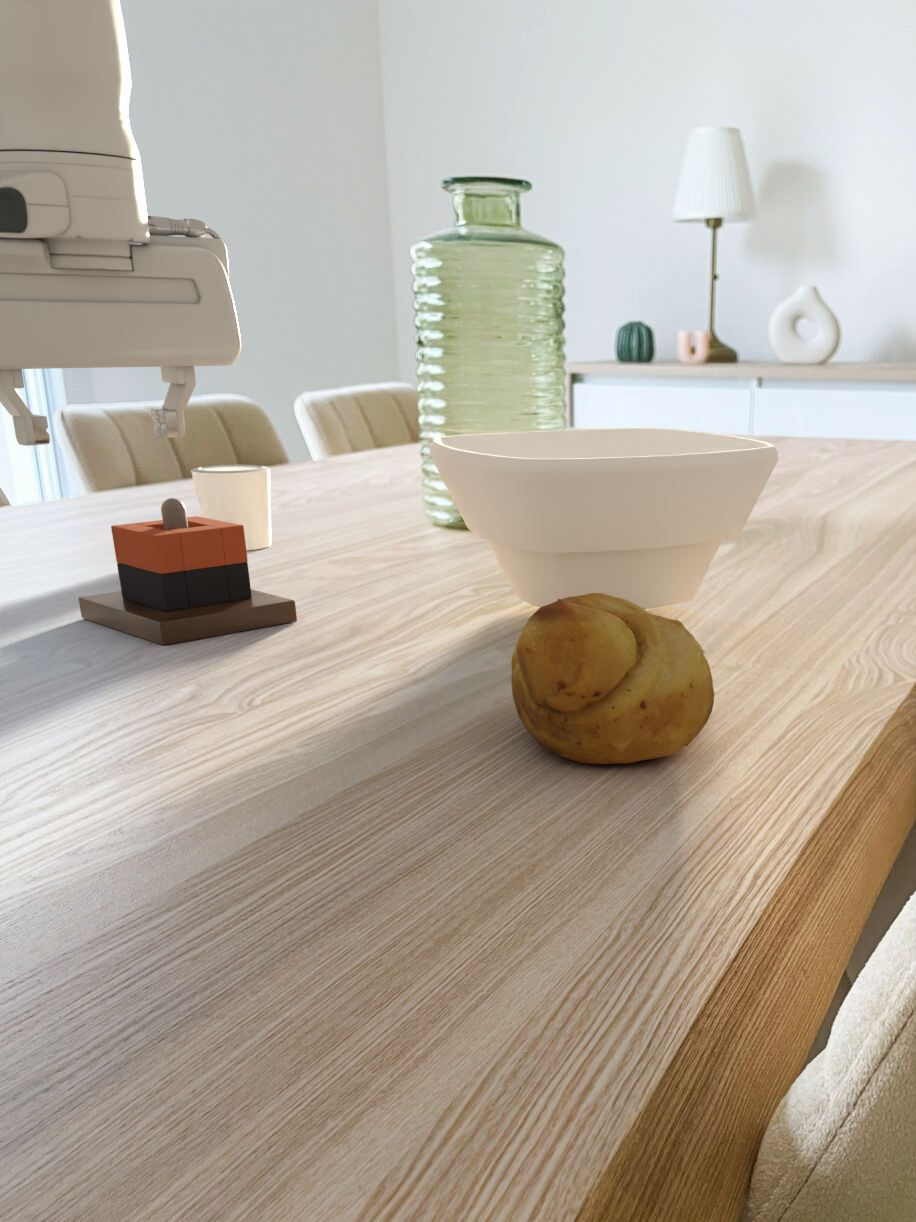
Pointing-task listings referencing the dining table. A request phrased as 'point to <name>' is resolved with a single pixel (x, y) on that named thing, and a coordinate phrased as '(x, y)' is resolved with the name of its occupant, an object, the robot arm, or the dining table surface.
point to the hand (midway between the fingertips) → (104, 440)
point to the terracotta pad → (179, 545)
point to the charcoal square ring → (185, 586)
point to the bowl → (604, 506)
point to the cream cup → (237, 499)
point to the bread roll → (609, 681)
